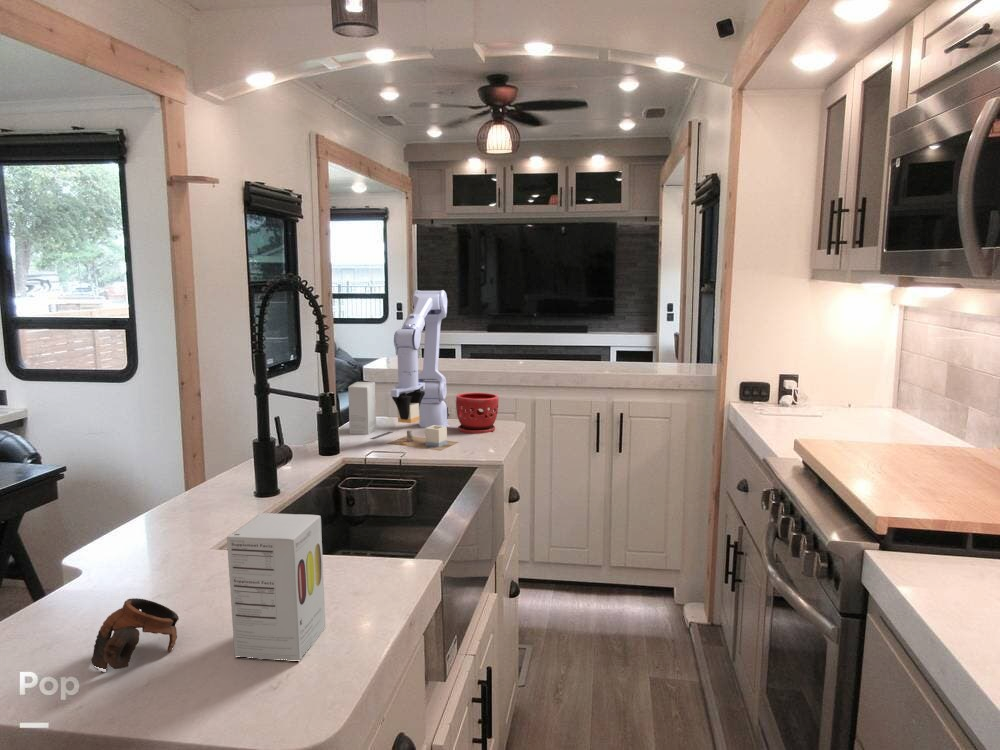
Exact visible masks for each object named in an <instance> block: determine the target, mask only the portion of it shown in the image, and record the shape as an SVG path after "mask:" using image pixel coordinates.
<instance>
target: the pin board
mask: <svg viewBox="0 0 1000 750" xmlns="http://www.w3.org/2000/svg"><path fill="white" fill-rule="evenodd" d="M413 435H414V434H413V430H406V436H403V437H400V438H397V439H395V440H392V441H390V442H388V443H386V444H387V445H395V446H403V447H411V448H417V449H427V450H432V451H443V450H445V449H447V448H450V447H451V446H454V445H457V444H458V443H459V441H452V440H447V444H445V445H443V446H441V447H434V446H426V437H419V436H413Z"/></svg>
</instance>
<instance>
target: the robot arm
mask: <svg viewBox="0 0 1000 750" xmlns="http://www.w3.org/2000/svg"><path fill="white" fill-rule="evenodd" d="M447 296H448V295H447V292H446V291H445V290H444V289H442V290H419V289H418V290H417V289H416V290H415V291H414V292H413V295H412V305H413V308H414V309H413V310H412V313H410V314H408V315H407V317H406V318H405V320H404V322H403V323H402V326H401V328H399V329H397V330H396V331H394V333H393V334H394V335H393V345H394V348H395V356H397V381H398V383H397V385H395V387H394V388H393V389H392V388H391V390H390V396H391V399H392V400H393V402H394V403H395V405H396V407H397V412H398V411H399V414H400V418H401V419H404V420H407V419H408V416H409V405H410V403H419V421H418V423H419V424H418V426H419V427H420V428H422V429H423V428H424V429H425V428H427V427H430V426H432V425H438V426H447V427H450V424H448V407H447V404H446V402H445V399H446V398H447V393H448V392H447V391H448V390H447V389H448V387H447V378H446V376H445V375H444V374H442V373H441V372H440V371H439V357H440V338H441V324H442V320H443V319H445V318H447V313H448V297H447ZM424 327H425V328H424ZM423 330H424V331H425V332H424V347H423V359H422V360H423V364H422V365H423V366H422V370H421V371H420V372H419V360H418V359H419V357H418V354H419V353H418V349H419V348H420V347H421V340H422V339H421V338H422V332H423Z"/></svg>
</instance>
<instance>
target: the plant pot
mask: <svg viewBox="0 0 1000 750" xmlns="http://www.w3.org/2000/svg"><path fill="white" fill-rule="evenodd" d="M455 404H456V405H455V406H456V409H455V410H456V415H457V419H458V422H459V424H460V425H458V427H457V429H458V431H460V433H465V434H487V433H494V432H495V430H496V426H495V425H494V424H495V422H496V419H497V417H498V411H499V395H496V394H494V393H487V392H466V393H458V394H457V395H456V399H455ZM488 408H489V409H488ZM480 410H482V411H480Z"/></svg>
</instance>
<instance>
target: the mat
mask: <svg viewBox="0 0 1000 750" xmlns="http://www.w3.org/2000/svg"><path fill="white" fill-rule="evenodd" d="M393 432H394V431H387V432H383V433H381V434H379V435H376V436H374V437H371V438H369V440H375V439H378V438H381V437H384V436H387V435H389V434H392V433H393Z"/></svg>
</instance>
